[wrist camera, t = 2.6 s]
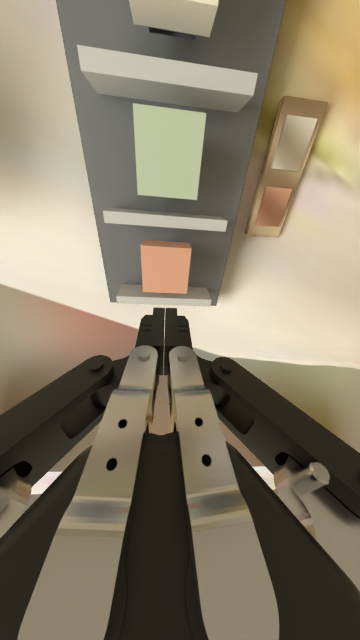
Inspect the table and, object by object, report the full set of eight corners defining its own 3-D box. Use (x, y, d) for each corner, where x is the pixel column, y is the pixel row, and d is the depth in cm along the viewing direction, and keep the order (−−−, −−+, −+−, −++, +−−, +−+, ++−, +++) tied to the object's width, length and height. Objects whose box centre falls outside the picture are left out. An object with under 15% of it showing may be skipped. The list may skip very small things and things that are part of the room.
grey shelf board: (34, -225, 10) (-118, -701, 5) (303, -149, 11) (422, -445, 6) (115, 292, 29) (103, 315, 23) (212, 296, 30) (221, 318, 25)
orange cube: (145, 235, 21) (140, 245, 17) (187, 238, 21) (191, 248, 18) (146, 275, 24) (142, 292, 20) (183, 277, 24) (186, 293, 20)
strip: (280, 99, 17) (286, 94, 16) (322, 105, 18) (330, 101, 17) (245, 233, 24) (248, 234, 24) (275, 235, 25) (279, 237, 24)
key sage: (141, 124, 16) (132, 103, 12) (197, 131, 16) (206, 113, 12) (143, 193, 19) (137, 194, 15) (191, 198, 19) (197, 200, 15)
